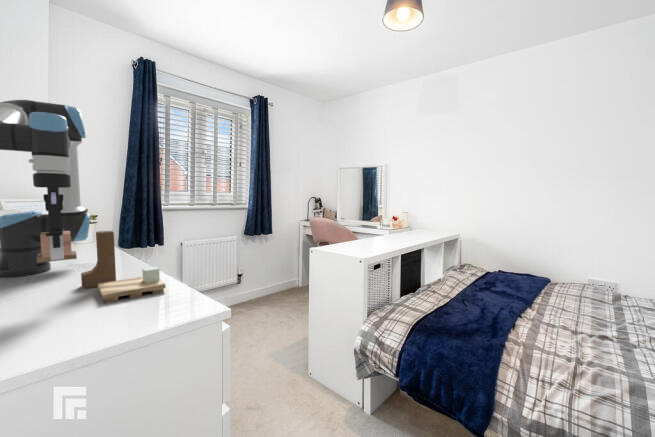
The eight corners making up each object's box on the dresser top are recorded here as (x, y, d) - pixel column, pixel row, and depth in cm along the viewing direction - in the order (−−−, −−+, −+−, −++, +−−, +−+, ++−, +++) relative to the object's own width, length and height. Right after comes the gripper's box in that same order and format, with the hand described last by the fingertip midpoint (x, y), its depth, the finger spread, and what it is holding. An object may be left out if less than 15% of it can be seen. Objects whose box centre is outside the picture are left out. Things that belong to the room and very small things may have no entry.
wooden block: (82, 289, 98) (79, 233, 96) (81, 285, 101) (78, 232, 99) (116, 283, 104) (113, 231, 102) (114, 280, 107) (111, 230, 105)
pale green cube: (142, 280, 99) (142, 268, 99) (156, 278, 102) (156, 266, 102) (145, 283, 96) (145, 270, 96) (159, 280, 99) (159, 268, 99)
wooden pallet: (98, 291, 96) (97, 283, 96) (154, 281, 106) (154, 274, 106) (103, 303, 85) (102, 294, 85) (165, 291, 96) (165, 284, 96)
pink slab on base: (38, 258, 83) (36, 232, 83) (75, 254, 89) (74, 230, 88) (36, 262, 79) (35, 235, 78) (76, 258, 84) (75, 233, 83)
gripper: (34, 173, 86) (40, 253, 88) (30, 170, 72) (37, 266, 74) (69, 174, 91) (73, 250, 93) (71, 172, 77) (76, 261, 79)
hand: (57, 257), depth 84 cm, fingers closed on pink slab on base, 6 cm apart
